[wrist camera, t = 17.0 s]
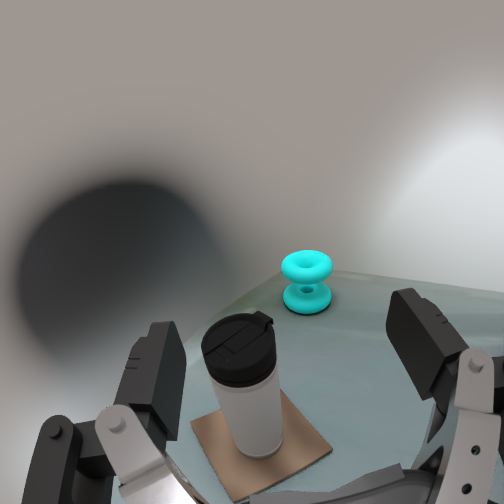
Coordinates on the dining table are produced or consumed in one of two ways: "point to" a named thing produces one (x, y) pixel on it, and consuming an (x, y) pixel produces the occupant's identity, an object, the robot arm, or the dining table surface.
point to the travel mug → (246, 381)
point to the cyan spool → (307, 281)
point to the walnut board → (259, 470)
